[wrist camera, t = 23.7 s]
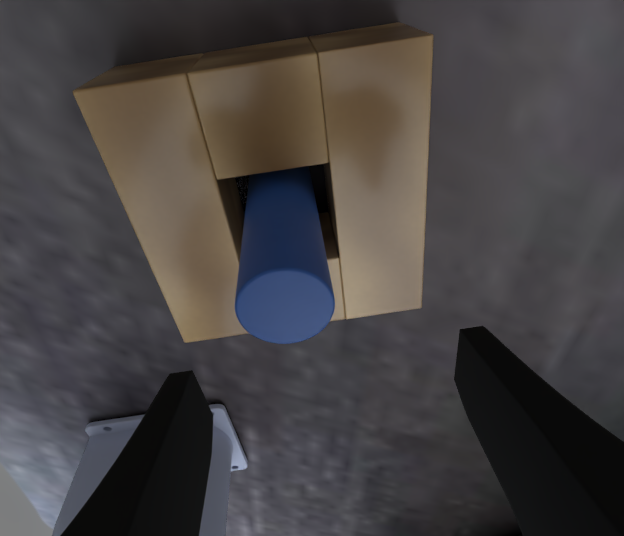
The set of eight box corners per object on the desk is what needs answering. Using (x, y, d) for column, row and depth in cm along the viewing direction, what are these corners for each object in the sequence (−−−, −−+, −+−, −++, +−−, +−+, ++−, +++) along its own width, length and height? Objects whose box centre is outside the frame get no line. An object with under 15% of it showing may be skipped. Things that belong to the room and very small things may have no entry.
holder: (197, 289, 22) (184, 343, 19) (112, 66, 15) (70, 91, 12) (399, 259, 22) (422, 308, 19) (400, 21, 15) (434, 34, 12)
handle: (277, 217, 20) (280, 358, 12) (236, 175, 18) (212, 307, 11) (322, 182, 19) (354, 311, 12) (283, 135, 17) (291, 250, 10)
